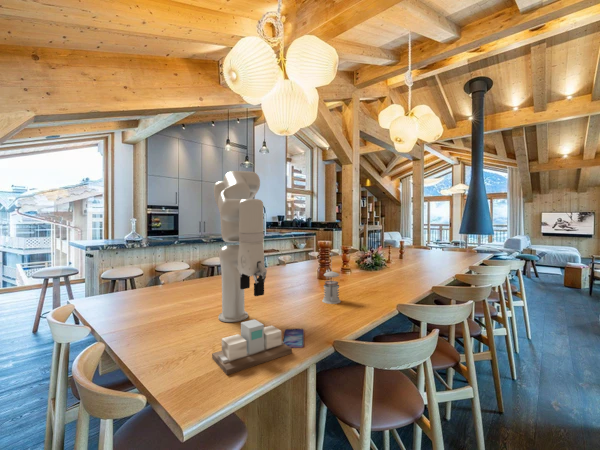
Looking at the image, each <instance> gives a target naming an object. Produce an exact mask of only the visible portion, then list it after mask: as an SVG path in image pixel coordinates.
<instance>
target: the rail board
mask: <svg viewBox="0 0 600 450" xmlns="http://www.w3.org/2000/svg"><path fill="white" fill-rule="evenodd" d="M282 339H283V338H282V330H281V329H279V328H277V327H276V326H274V325H273V324H272V325H268V326H264V350H261V351H258V352H255V353H252V354H249V353H248V352H247V341H246V340H245V339H244V338H243V337H241V334H239V333H238V334H237V333H236V334H234V335H229V336H226V337H222V338H221V350H220V351H219V350H218V351H216V352H213V353H211V359H212V360H213V361H214V362H215V363H216V364H217V365H218V367H219V368H220V369H221V371H223V372H224V374H225V375H226V376H228V375H232V374H235V373H238V372H241V371H243V370H246V369H249V368H252V367H255V366H257V365H261V364H263V363H267V362H270V361H273V360H275V359H278V358H281V357H285V356H287V355H290V354H292V353H293V350H292V348H290V347H289V346H287V345H286V344H284V342H283V340H282Z"/></svg>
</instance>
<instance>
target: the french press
mask: <svg viewBox="0 0 600 450" xmlns="http://www.w3.org/2000/svg"><path fill="white" fill-rule="evenodd" d="M329 256H330V258H331V259H330V261H331V263H330V265H331V266H330V267H331V270H330V271H327V272H324V274H323V276H324V277H327V278H330V280H326V281H324V284H323V295H324V296H323V299H322V300H321V302H322V303H325V304H330V305H333V304H334V305H336V304H340V303H341V299H340V289H339V288H340V285H339V281H337V280H333V279H332V278H336V277H337V278H338V277H339V276H340V274H339V273H338V272H335V271H333V264H332V263H333V259H332V258H333V256H334V253H333V252H330V253H329Z"/></svg>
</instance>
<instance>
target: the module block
mask: <svg viewBox="0 0 600 450" xmlns="http://www.w3.org/2000/svg"><path fill="white" fill-rule="evenodd" d="M264 327H265V324H263V323H262V322H260V321H259V320H256V319H250V320H246V321H245V320H244V321H242V322H241V321H240V336H241V337H243V338H244V339H245V340H246V341H247V352H248V353H249V354H252V353H255V352H258V351H261V350H264Z"/></svg>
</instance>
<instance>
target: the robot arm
mask: <svg viewBox="0 0 600 450" xmlns="http://www.w3.org/2000/svg"><path fill="white" fill-rule="evenodd" d="M260 186H261V180H260V175H258V174H257V172H255V171H248V170H246V171H245V170H231V171H228V172H227V173H225V175H224V177H223V180H221V181H217V182H215V183H214V186H213V196H214V200H215V203H216V206H217V208H218V211H219V214H220V215H219V216H220V231H221V239H222V241H224V242H225V243H239V244H228V245H224V246H222V247H221V248H220V249H219V252H218V253H219V254H218V256H219V257H218V258H219V262H220V270H221V313H219V315H218V317H217V318H218V320H219V321H221V322H224V323H225V322H226V323H237V322H238V323H239V322H241V321H242V322H243V321H245V320H246V319H247V318H249V312H248V311H246V309H245V290H246V289H250V287H251V286H250V285H251V281H250V280H251V277H253V280H254V283H253V296H254V297H259V296H264V295H265V282H266V277H267V271H268V270H267V268H265V254H264V202H263V200H261V199H259V198H255V196H256V194H257V193H258V192H259V189H260Z"/></svg>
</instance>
